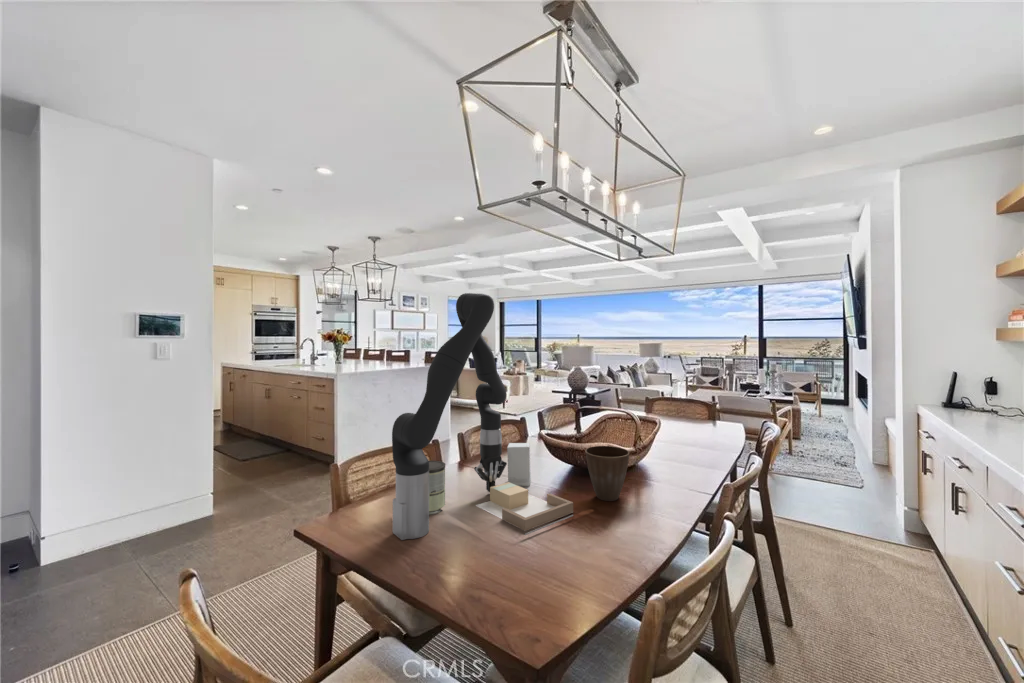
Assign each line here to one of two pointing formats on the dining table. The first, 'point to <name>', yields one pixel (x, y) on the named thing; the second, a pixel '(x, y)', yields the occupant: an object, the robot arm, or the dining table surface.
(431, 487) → the coffee can
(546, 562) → the dining table surface
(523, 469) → the skincare box
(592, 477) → the plant pot
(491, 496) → the carton
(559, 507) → the tan flat tray
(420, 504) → the robot arm
